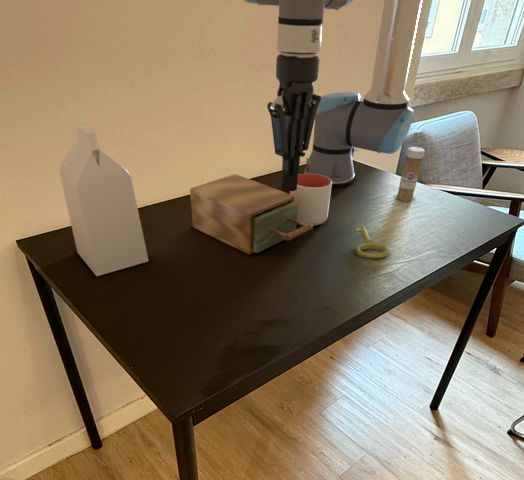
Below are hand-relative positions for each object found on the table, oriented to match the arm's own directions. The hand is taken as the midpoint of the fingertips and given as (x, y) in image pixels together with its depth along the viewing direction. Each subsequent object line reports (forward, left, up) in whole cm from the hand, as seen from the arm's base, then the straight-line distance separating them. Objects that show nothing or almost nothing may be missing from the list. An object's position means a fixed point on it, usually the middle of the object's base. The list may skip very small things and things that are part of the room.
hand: (289, 188), depth 94 cm
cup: (-18, -5, -15) cm, 23 cm away
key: (-14, +14, -15) cm, 24 cm away
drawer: (-1, -8, -13) cm, 16 cm away
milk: (+26, -28, -15) cm, 41 cm away
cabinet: (-2, -14, -14) cm, 20 cm away
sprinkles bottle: (-48, +9, -15) cm, 51 cm away
